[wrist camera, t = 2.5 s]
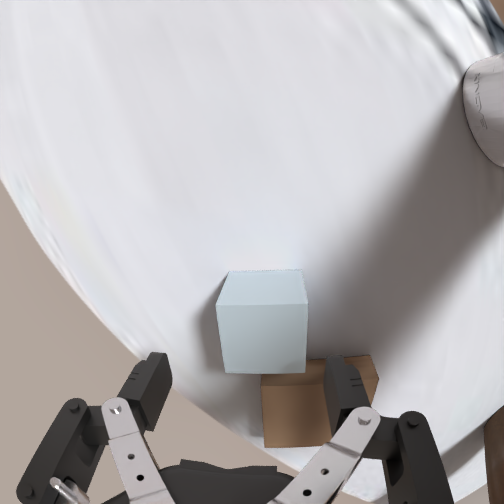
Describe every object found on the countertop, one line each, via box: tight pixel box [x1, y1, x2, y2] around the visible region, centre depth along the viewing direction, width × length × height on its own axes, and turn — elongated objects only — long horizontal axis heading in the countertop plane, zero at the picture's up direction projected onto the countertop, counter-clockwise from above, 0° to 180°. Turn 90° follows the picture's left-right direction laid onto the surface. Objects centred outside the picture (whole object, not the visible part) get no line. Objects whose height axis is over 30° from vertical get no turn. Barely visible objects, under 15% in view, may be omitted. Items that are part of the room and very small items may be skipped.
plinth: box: [261, 355, 379, 448], centre depth 22 cm, size 9×9×3 cm
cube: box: [215, 269, 308, 374], centre depth 18 cm, size 5×5×5 cm
